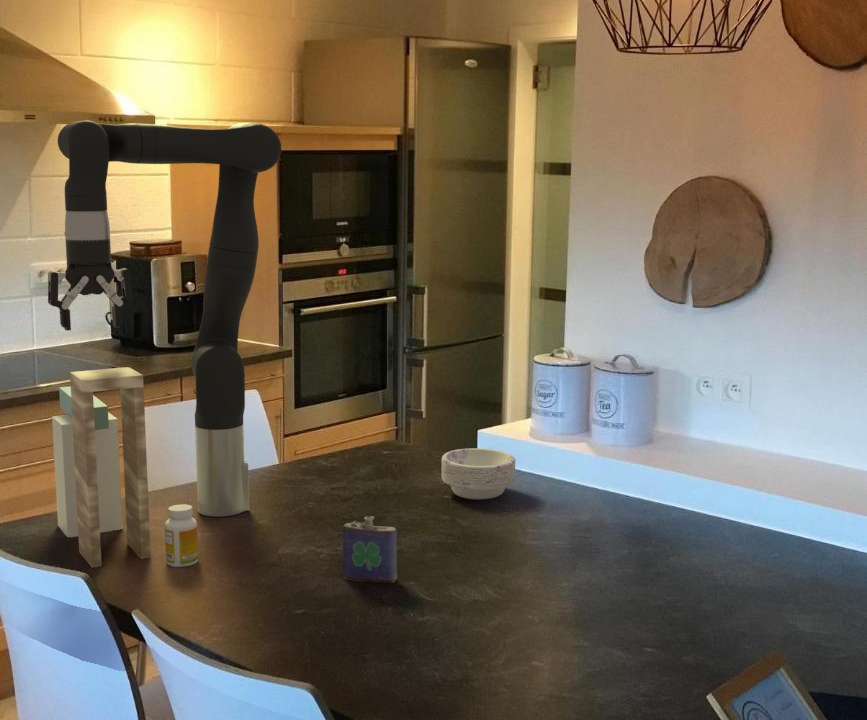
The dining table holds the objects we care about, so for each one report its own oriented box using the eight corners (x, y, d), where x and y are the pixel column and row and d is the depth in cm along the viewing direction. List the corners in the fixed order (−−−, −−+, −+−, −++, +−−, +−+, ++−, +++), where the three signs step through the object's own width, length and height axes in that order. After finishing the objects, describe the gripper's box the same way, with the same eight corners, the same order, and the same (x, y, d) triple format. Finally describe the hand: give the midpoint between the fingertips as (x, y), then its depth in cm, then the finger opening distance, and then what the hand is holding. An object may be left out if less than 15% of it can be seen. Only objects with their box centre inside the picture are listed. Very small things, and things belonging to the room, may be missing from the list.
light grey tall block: (111, 517, 217) (106, 410, 214) (122, 529, 210) (117, 418, 207) (58, 525, 212) (51, 416, 209) (67, 537, 205) (61, 424, 202)
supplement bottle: (202, 557, 195) (200, 503, 194) (193, 568, 190) (191, 512, 188) (172, 556, 196) (170, 502, 194) (161, 567, 190) (159, 511, 189)
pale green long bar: (81, 405, 218) (80, 385, 218) (108, 428, 199) (107, 406, 199) (60, 407, 216) (59, 387, 216) (85, 430, 197) (84, 408, 197)
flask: (398, 579, 185) (398, 516, 183) (393, 585, 182) (392, 521, 181) (345, 573, 188) (344, 511, 186) (339, 579, 185) (338, 516, 183)
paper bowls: (517, 504, 226) (517, 466, 225) (441, 504, 227) (441, 465, 225) (512, 483, 241) (513, 447, 240) (441, 483, 242) (441, 447, 240)
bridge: (136, 542, 203) (128, 367, 197) (150, 557, 195) (143, 375, 190) (79, 552, 198) (69, 372, 192) (91, 567, 190) (82, 380, 185)
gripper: (50, 239, 192) (55, 334, 194) (134, 237, 199) (138, 328, 202) (41, 237, 198) (46, 328, 201) (122, 234, 205) (126, 323, 208)
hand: (92, 328), depth 201 cm, fingers open, 8 cm apart
